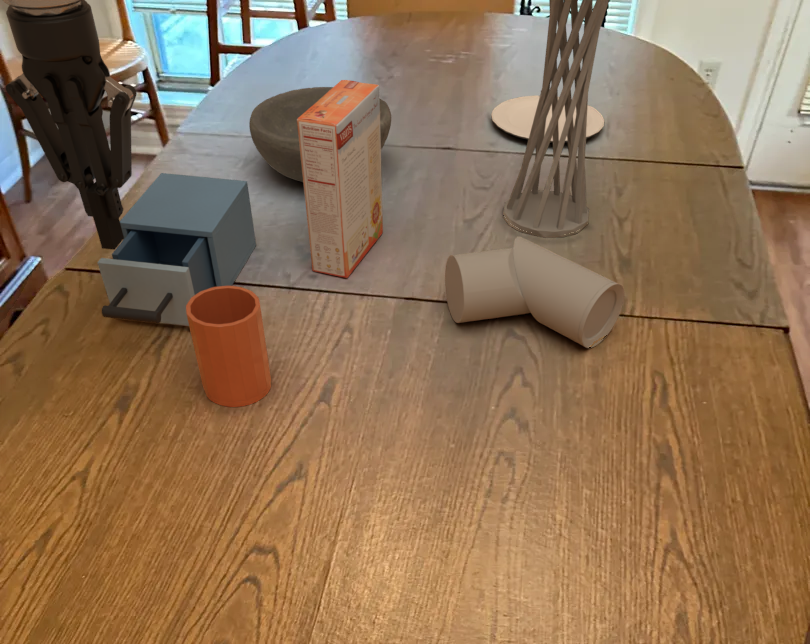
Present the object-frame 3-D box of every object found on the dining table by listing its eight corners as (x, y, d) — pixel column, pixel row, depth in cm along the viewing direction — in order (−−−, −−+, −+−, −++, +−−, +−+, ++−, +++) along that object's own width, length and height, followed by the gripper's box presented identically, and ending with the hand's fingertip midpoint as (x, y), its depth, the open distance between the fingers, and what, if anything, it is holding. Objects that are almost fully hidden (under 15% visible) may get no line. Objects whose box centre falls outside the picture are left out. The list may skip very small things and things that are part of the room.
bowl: (293, 135, 142) (288, 74, 135) (409, 155, 137) (410, 93, 129) (230, 188, 128) (220, 124, 120) (356, 214, 123) (354, 148, 115)
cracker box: (347, 227, 120) (340, 76, 104) (384, 234, 119) (382, 83, 103) (308, 272, 112) (294, 115, 96) (347, 280, 110) (339, 123, 94)
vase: (535, 187, 129) (572, -77, 103) (605, 214, 124) (662, -59, 97) (485, 217, 123) (510, -58, 96) (556, 247, 117) (604, -37, 91)
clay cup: (194, 402, 92) (175, 321, 84) (217, 362, 98) (200, 282, 89) (260, 410, 92) (246, 330, 83) (279, 369, 97) (268, 289, 88)
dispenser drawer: (181, 353, 97) (167, 297, 91) (95, 343, 98) (76, 287, 93) (231, 272, 110) (222, 218, 104) (153, 264, 111) (140, 210, 105)
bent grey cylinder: (575, 266, 111) (439, 283, 108) (596, 202, 102) (448, 219, 98) (620, 361, 103) (475, 383, 100) (647, 301, 94) (488, 323, 90)
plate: (565, 97, 155) (566, 88, 154) (625, 138, 143) (627, 128, 141) (471, 113, 149) (471, 103, 148) (525, 157, 137) (526, 147, 136)
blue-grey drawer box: (224, 299, 107) (211, 231, 100) (136, 289, 108) (118, 222, 101) (256, 245, 116) (247, 180, 109) (175, 237, 118) (161, 172, 110)
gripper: (130, -4, 74) (179, 233, 92) (1, -15, 75) (74, 221, 93) (96, 20, 69) (154, 266, 87) (-41, 9, 71) (44, 253, 88)
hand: (113, 242), depth 90 cm, fingers closed
